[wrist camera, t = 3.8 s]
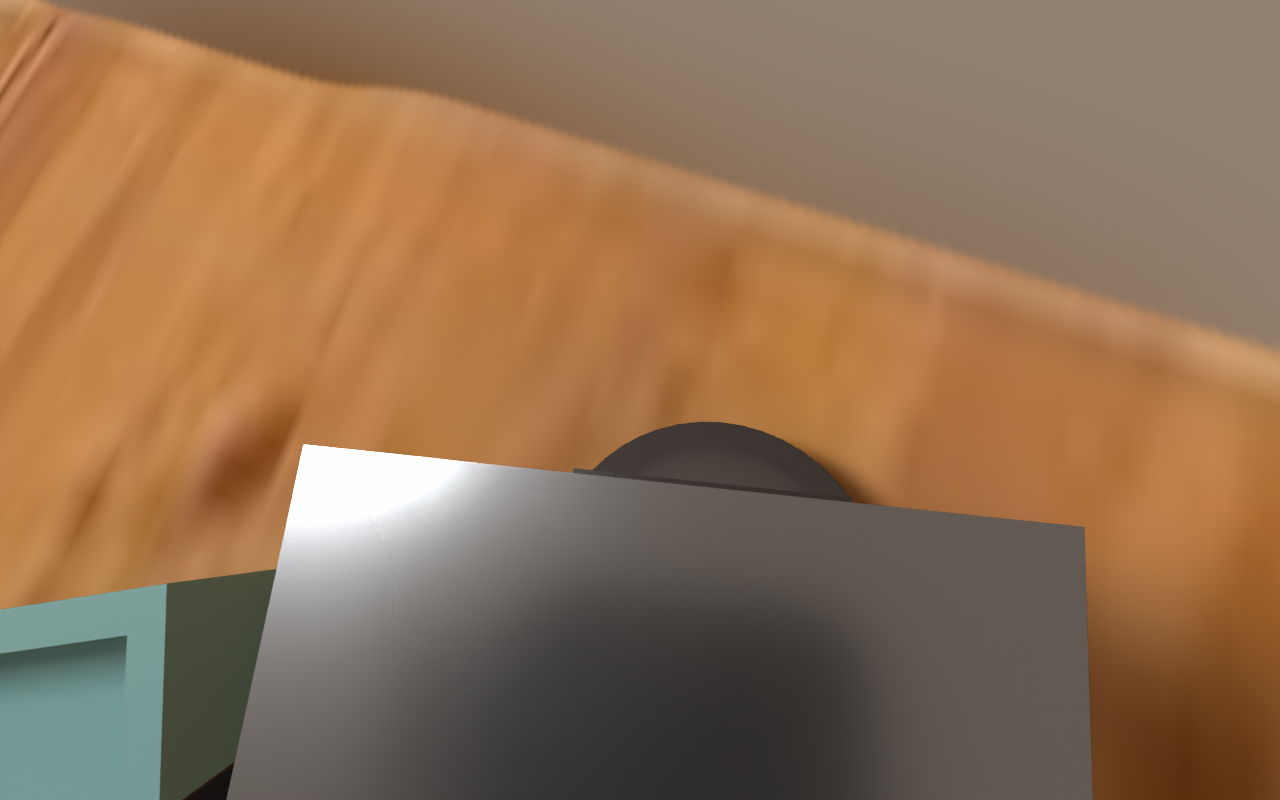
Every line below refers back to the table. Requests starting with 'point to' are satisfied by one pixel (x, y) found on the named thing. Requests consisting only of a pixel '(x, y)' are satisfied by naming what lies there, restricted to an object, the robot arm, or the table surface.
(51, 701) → the bin
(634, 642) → the strut
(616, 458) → the stud plate
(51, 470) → the table surface
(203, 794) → the robot arm
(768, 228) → the table surface
